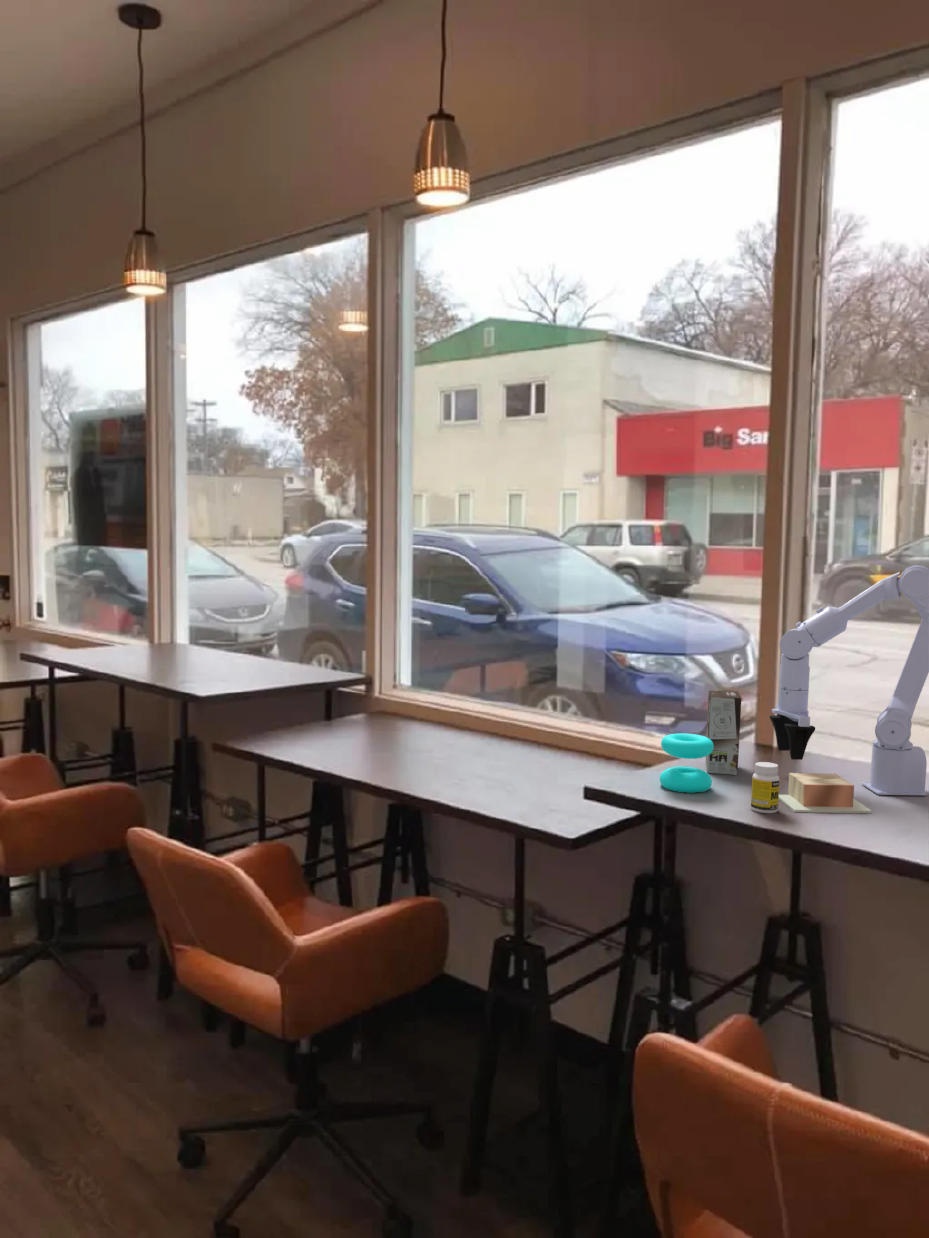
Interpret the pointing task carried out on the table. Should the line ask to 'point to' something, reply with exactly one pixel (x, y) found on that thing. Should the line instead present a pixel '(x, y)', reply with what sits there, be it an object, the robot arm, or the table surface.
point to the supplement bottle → (765, 788)
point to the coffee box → (723, 731)
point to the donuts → (681, 775)
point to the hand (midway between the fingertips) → (790, 754)
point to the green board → (797, 807)
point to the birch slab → (820, 790)
